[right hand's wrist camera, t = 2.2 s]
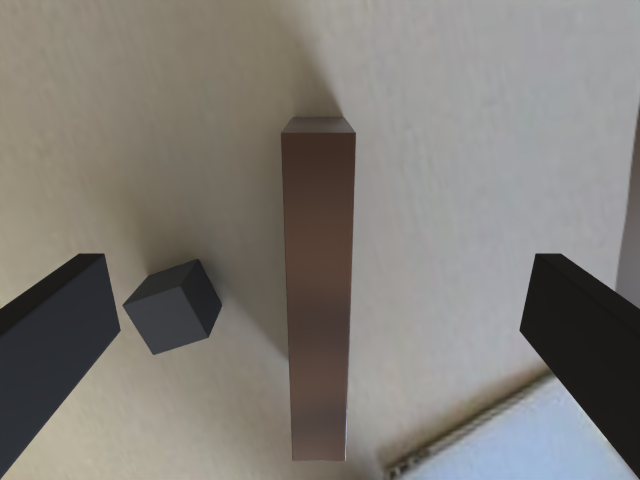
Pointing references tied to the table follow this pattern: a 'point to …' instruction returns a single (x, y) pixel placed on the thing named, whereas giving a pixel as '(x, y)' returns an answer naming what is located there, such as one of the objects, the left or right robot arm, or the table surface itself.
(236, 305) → the table surface
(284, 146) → the beam
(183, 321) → the grey block
